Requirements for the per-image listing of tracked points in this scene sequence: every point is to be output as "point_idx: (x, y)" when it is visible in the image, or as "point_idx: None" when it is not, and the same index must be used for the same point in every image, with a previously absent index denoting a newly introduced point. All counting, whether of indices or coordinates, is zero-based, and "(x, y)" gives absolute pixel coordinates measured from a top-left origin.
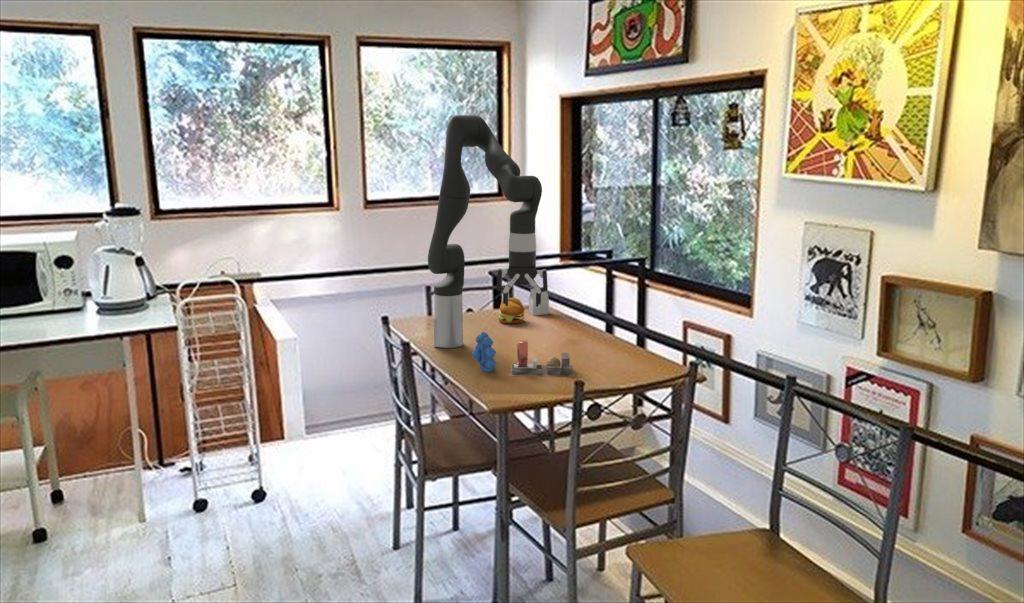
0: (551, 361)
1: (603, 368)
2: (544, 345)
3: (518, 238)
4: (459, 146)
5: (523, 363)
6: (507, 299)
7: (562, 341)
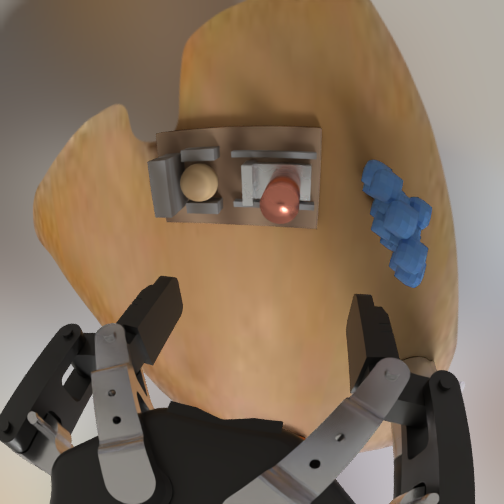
0: (199, 171)
1: (119, 230)
2: (240, 364)
3: None
4: None
5: (282, 170)
6: (364, 321)
7: (211, 375)
